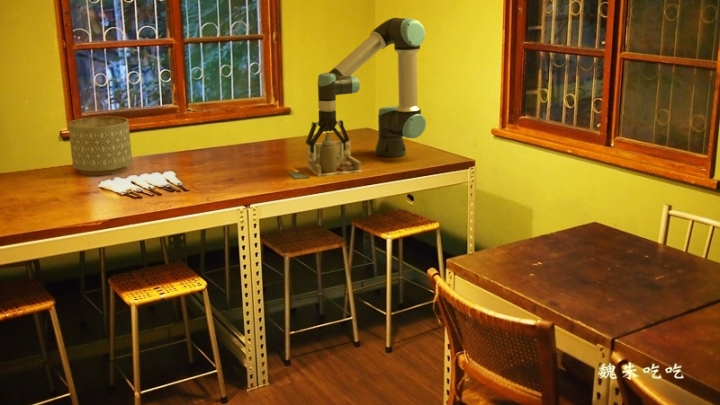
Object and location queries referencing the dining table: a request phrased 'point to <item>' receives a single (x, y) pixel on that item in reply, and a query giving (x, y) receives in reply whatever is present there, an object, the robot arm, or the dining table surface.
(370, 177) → the dining table surface
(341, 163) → the offcut top
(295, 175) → the mat
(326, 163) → the squeeze bottle
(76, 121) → the planter
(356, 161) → the rack
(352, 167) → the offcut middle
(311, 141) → the robot arm
